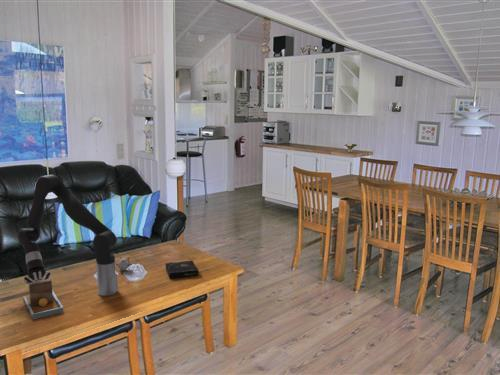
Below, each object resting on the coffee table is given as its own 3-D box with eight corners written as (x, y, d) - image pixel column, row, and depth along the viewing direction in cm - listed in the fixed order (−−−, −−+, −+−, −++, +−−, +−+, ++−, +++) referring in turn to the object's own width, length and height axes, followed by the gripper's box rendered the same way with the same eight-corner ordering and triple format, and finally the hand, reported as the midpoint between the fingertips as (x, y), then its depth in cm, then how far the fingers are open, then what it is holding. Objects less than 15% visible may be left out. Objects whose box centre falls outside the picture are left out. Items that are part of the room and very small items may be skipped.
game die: (125, 277, 264) (121, 269, 257) (115, 270, 268) (111, 261, 260) (136, 267, 269) (132, 258, 261) (126, 260, 272) (123, 251, 265)
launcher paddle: (30, 303, 221) (28, 282, 219) (51, 298, 227) (50, 278, 225) (31, 305, 219) (29, 285, 217) (53, 300, 224) (51, 280, 222)
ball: (48, 296, 221) (49, 304, 220) (41, 298, 222) (42, 306, 221) (43, 298, 217) (44, 306, 216) (36, 299, 218) (37, 307, 217)
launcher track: (23, 299, 227) (23, 296, 226) (52, 292, 234) (52, 290, 234) (28, 311, 214) (28, 308, 213) (59, 304, 221) (59, 301, 221)
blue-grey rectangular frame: (28, 310, 215) (28, 305, 214) (58, 303, 222) (58, 298, 222) (32, 319, 206) (32, 314, 205) (63, 312, 213) (63, 307, 213)
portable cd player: (192, 266, 275) (192, 260, 274) (197, 276, 259) (197, 270, 258) (165, 269, 269) (165, 262, 269) (169, 279, 254) (169, 273, 253)
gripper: (20, 261, 225) (26, 292, 217) (48, 256, 232) (55, 286, 225) (20, 267, 230) (25, 298, 223) (47, 262, 237) (53, 292, 230)
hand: (40, 292), depth 224 cm, fingers closed
